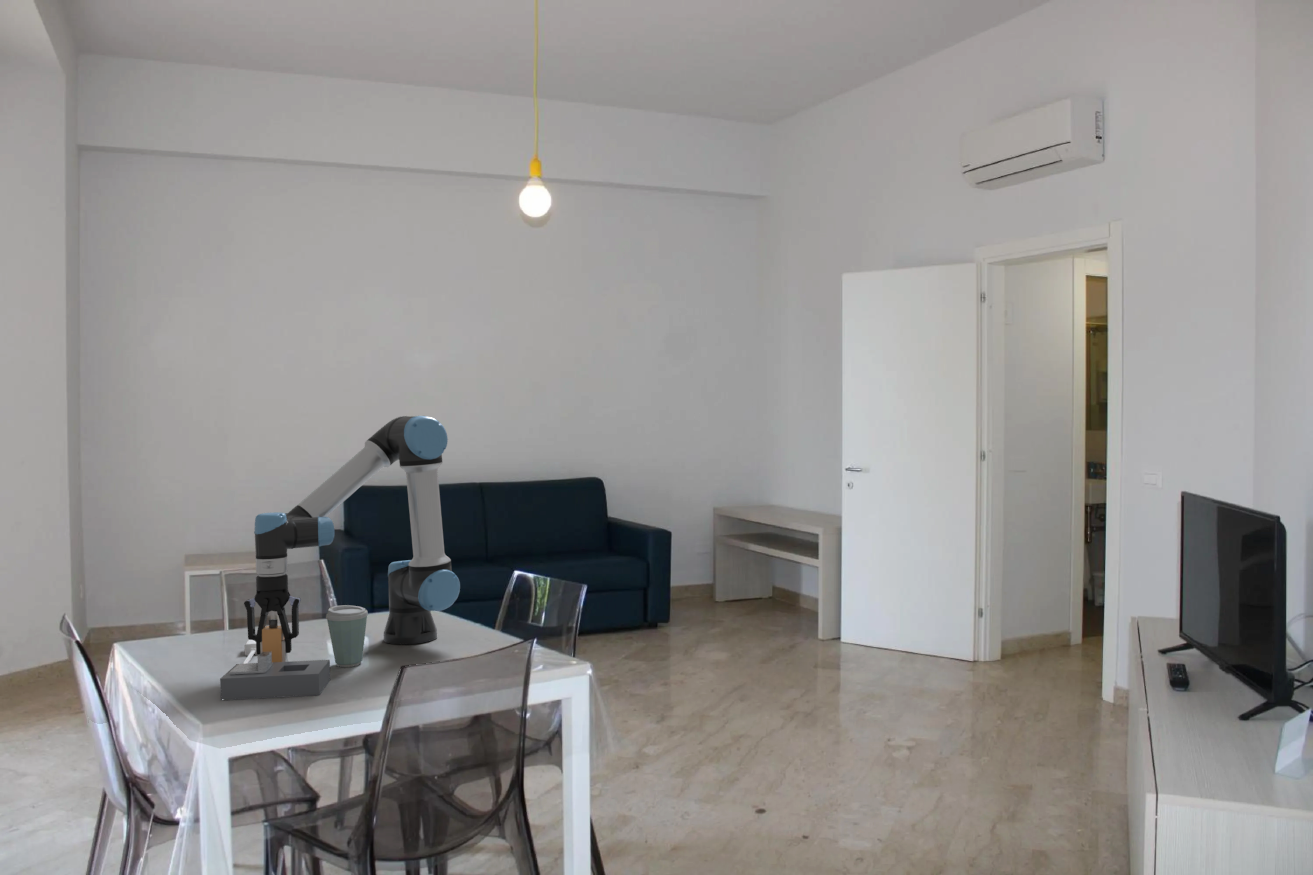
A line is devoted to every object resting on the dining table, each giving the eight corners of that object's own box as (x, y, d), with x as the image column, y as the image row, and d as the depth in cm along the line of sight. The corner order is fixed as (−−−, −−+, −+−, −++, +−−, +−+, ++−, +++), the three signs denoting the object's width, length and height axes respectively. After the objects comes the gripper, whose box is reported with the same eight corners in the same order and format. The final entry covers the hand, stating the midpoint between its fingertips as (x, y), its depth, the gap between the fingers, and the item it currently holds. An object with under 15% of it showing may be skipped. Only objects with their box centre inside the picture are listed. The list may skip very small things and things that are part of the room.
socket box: (330, 679, 255) (329, 659, 255) (319, 694, 241) (318, 673, 241) (237, 684, 252) (236, 663, 252) (220, 700, 238) (220, 678, 238)
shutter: (273, 664, 250) (272, 649, 250) (265, 672, 242) (264, 657, 242) (238, 666, 249) (238, 651, 249) (229, 674, 241) (229, 659, 241)
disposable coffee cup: (375, 659, 275) (373, 603, 275) (361, 669, 264) (359, 611, 264) (336, 659, 276) (334, 603, 275) (320, 669, 265) (319, 611, 265)
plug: (285, 672, 263) (284, 617, 263) (281, 676, 259) (280, 620, 259) (267, 672, 263) (266, 618, 263) (263, 677, 258) (261, 621, 258)
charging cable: (229, 679, 262) (229, 666, 262) (251, 645, 294) (251, 634, 293) (250, 677, 263) (250, 664, 263) (270, 644, 295) (270, 633, 294)
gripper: (231, 577, 255) (234, 671, 256) (304, 575, 258) (307, 668, 258) (239, 573, 263) (242, 664, 263) (310, 570, 265) (313, 660, 266)
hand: (274, 665), depth 261 cm, fingers closed on plug, 4 cm apart
